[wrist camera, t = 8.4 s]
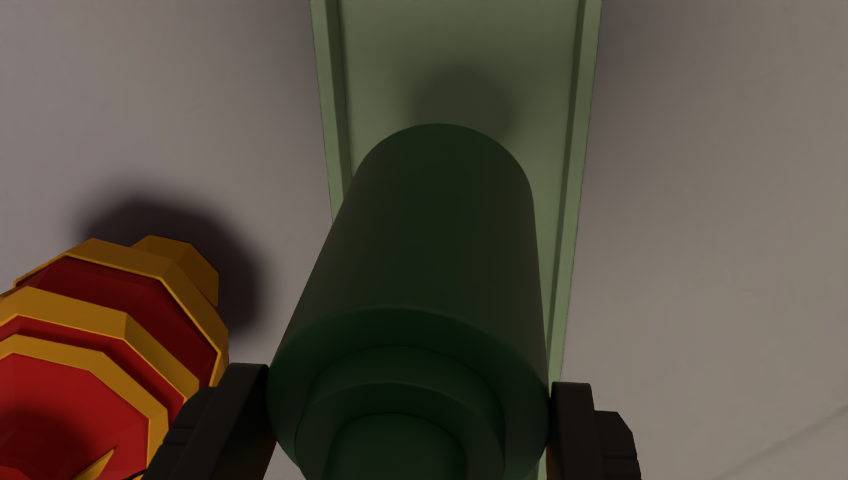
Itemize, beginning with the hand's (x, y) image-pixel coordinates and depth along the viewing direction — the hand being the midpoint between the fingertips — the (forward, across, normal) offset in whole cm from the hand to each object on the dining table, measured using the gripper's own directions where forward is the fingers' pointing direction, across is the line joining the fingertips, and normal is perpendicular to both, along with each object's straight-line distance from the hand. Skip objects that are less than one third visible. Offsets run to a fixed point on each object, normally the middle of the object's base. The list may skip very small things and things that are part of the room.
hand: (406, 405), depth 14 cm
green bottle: (+9, 0, 0) cm, 9 cm away
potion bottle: (+17, +14, +9) cm, 24 cm away
